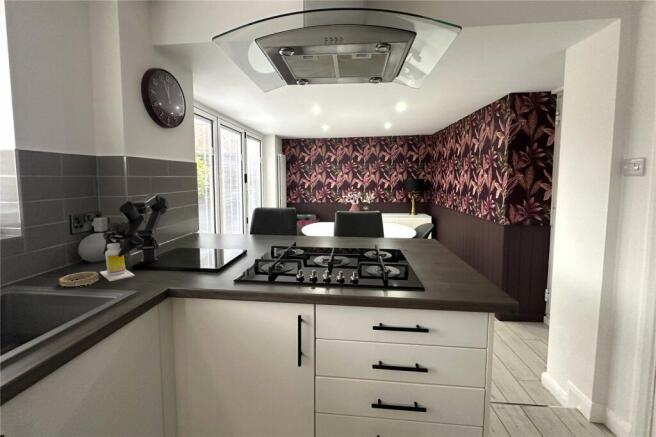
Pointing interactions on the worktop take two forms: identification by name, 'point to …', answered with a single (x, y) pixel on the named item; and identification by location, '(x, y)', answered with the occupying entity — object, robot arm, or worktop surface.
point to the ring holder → (89, 278)
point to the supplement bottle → (114, 260)
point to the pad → (117, 277)
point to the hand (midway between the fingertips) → (111, 255)
